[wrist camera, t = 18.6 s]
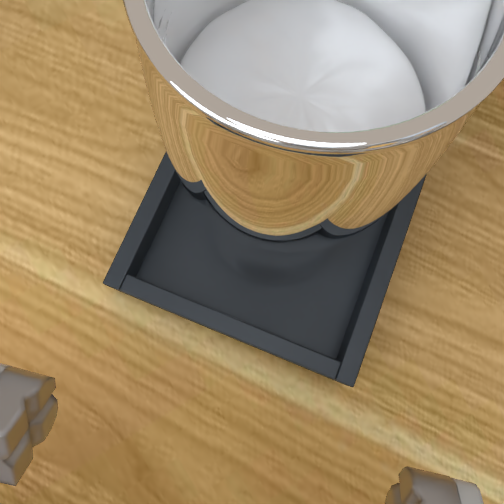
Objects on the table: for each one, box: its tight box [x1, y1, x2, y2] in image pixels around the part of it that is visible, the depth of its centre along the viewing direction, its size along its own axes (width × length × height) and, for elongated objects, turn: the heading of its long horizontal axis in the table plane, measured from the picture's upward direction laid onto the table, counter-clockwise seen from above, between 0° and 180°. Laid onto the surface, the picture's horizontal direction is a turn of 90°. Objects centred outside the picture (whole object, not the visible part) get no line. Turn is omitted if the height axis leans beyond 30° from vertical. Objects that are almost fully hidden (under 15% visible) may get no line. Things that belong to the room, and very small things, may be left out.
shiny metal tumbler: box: [123, 0, 504, 285], centre depth 14 cm, size 7×7×15 cm
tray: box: [103, 151, 426, 387], centre depth 23 cm, size 12×28×2 cm, turn 158°
